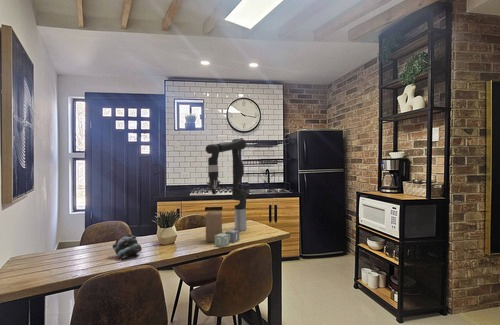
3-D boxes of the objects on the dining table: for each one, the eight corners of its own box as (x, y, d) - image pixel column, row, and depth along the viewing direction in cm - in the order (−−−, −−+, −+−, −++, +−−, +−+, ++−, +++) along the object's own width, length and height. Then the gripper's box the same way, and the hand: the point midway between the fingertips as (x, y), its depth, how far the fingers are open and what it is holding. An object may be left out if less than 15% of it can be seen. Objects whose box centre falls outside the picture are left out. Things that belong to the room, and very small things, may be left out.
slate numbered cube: (231, 239, 213) (231, 229, 213) (239, 240, 209) (239, 230, 209) (225, 241, 207) (225, 231, 207) (233, 243, 203) (233, 232, 203)
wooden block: (222, 238, 214) (221, 211, 214) (219, 242, 204) (219, 214, 204) (209, 238, 215) (208, 211, 215) (205, 242, 205) (205, 214, 205)
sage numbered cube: (221, 243, 203) (221, 232, 203) (229, 244, 199) (229, 234, 199) (214, 245, 197) (214, 235, 197) (222, 247, 193) (222, 236, 193)
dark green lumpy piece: (115, 261, 168) (108, 239, 172) (118, 263, 178) (112, 242, 182) (142, 250, 174) (134, 229, 177) (143, 253, 184) (136, 232, 188)
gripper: (215, 170, 225) (215, 192, 226) (203, 171, 214) (204, 195, 215) (222, 170, 221) (223, 193, 222) (211, 171, 210) (212, 195, 211)
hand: (214, 194), depth 218 cm, fingers closed
